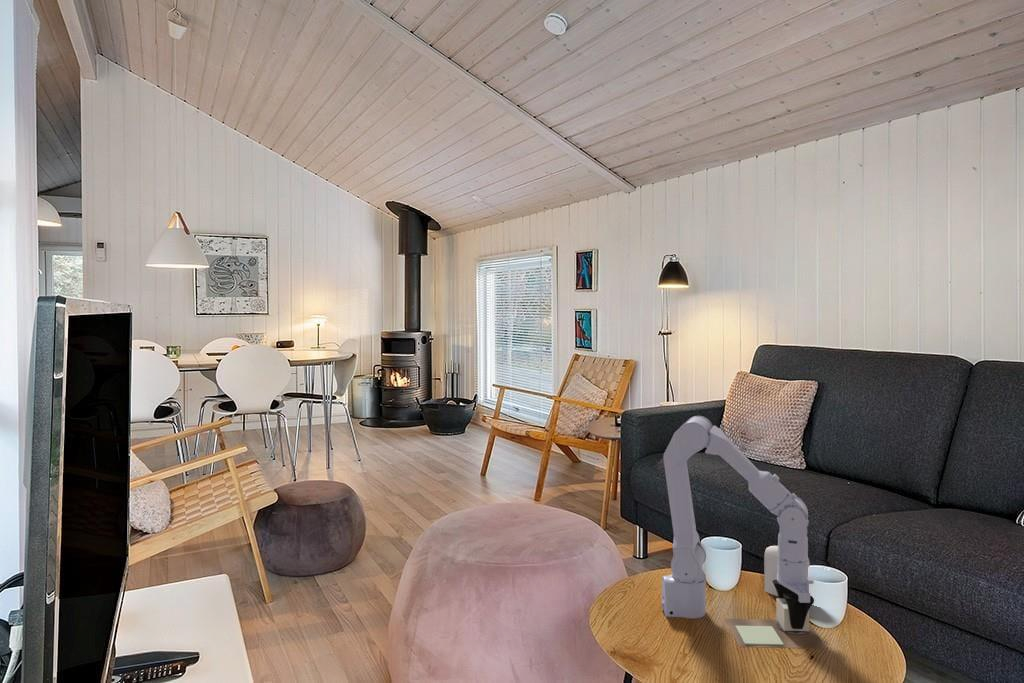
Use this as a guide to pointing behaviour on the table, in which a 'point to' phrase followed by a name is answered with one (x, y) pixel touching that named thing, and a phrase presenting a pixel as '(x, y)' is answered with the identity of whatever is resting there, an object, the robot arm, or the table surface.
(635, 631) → the table surface
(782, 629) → the post
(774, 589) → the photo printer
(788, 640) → the board
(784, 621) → the slotted tissue box
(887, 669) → the table surface
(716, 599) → the table surface
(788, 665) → the table surface
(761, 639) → the mat
